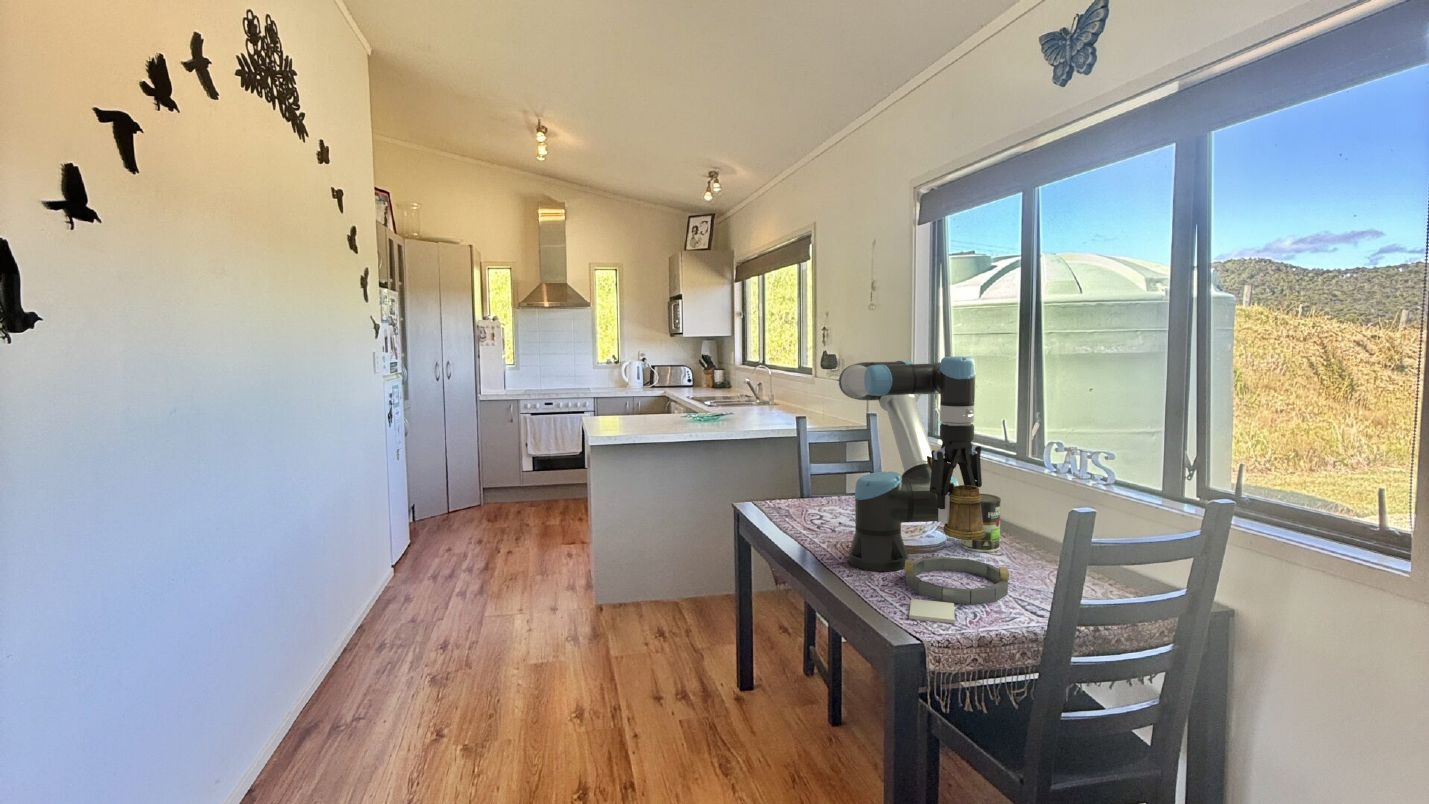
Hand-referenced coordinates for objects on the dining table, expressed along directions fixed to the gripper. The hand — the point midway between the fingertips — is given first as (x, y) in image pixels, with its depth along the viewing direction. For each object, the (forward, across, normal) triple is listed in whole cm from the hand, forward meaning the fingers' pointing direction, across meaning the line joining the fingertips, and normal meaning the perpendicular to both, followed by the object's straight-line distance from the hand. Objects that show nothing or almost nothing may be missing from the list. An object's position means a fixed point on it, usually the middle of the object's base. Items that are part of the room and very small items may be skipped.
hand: (955, 519), depth 159 cm
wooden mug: (+3, -1, -1) cm, 3 cm away
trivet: (+16, -16, -10) cm, 25 cm away
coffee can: (+16, +27, +17) cm, 36 cm away
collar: (+16, 0, 0) cm, 16 cm away
